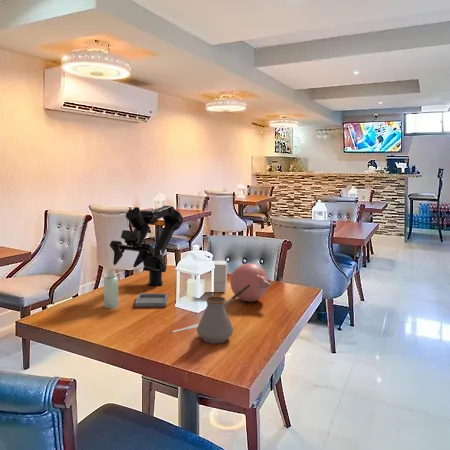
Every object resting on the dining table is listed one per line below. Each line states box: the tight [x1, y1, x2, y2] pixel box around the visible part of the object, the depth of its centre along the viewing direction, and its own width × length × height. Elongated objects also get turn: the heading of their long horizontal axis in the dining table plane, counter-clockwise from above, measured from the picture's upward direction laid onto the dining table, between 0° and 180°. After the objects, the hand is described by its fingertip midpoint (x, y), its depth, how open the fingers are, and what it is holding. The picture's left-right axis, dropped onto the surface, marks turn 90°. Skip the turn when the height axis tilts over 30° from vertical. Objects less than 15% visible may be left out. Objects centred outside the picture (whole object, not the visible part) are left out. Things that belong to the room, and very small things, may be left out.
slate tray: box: [134, 293, 169, 308], centre depth 162 cm, size 12×12×2 cm
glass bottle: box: [103, 268, 119, 309], centre depth 156 cm, size 5×5×14 cm
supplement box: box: [212, 260, 228, 293], centre depth 179 cm, size 7×7×13 cm
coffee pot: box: [196, 284, 253, 344], centre depth 132 cm, size 21×12×15 cm, turn 132°
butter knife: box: [171, 323, 199, 333], centre depth 133 cm, size 1×24×3 cm
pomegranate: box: [230, 262, 273, 303], centre depth 164 cm, size 15×20×15 cm
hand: (124, 265), depth 163 cm, fingers open, 9 cm apart
